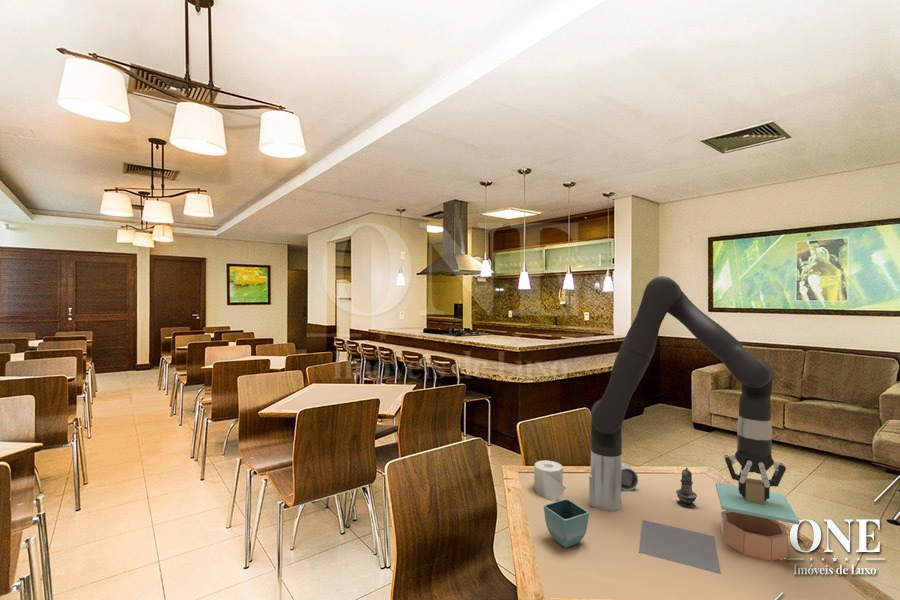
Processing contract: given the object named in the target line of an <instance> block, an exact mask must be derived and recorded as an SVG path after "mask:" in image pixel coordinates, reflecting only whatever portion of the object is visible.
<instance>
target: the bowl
mask: <svg viewBox="0 0 900 600" xmlns="http://www.w3.org/2000/svg"><path fill="white" fill-rule="evenodd" d="M720 534H721V538H722V542H723V543H725V544H726V545H728V546H730V547H731V548H733V549H734V550H736V551H738V552H740V553H741V554H743V555H745V556H750V557H754V558H758V559H762V560H767V561H770V562H772V561H776V560H780V559H784V558H787V557H788V555H789V534H788V531H787V530H786V528H785V525H784V524H783V523H782V522H780V521H777V520H772V519H767V518H762V517H757V516H752V515H747V514H742V513H737V512H732V511H727V510H722V511H720ZM788 558H789V557H788ZM788 558H787V559H788ZM784 560H785V559H784Z"/></svg>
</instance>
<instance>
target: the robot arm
mask: <svg viewBox="0 0 900 600" xmlns="http://www.w3.org/2000/svg"><path fill="white" fill-rule="evenodd" d="M641 298H642V299H641V301H640V304H639V306H638V307H639V308H638V310H637V313H636V315H635V318H634V320H633V321H632V323H631V325H630V327H629V329H628V331H627V332H626V335H625V337H624V339H623V341H622V344H621V345H620V348H619V350H618V352H617V354H616V357H615V359H614V361H613V365H612V369H611V372H610V377H609V380H608V384H607V387H606V389H605V391H604V394H602V397H601V399H599V400H596V402H594V404H593V405H592V407H591V411H590V413H591V415H590V417H591V420H590V421H591V422H590V425H591V426H590V427H591V428H590V473H589V476H588V477H589V478H588V479H589V481H588V483H589V484H588V506H589V507H592V508H596V509H598V510H600V511H604V512H605V511H606V512H617V511H618V510H619V511H620V509H621V508H622V489H621V472H622V463H623V462H622V458H623V457H622V456H623V453H622V452H623V442H622V439H623V437H622V425H623V422H624V419H625V416H626V413H627V410H628V407H629V404H630V401H631V399H632V397H633V394H634V392H635V391H636V389H637V387H638V386H639V384H640V382H641V381H642V379H643V377H644V374H645V372H646V371H647V369H648V367H649V365H650V362H651V360H652V358H653V355H654V352H655V350H656V346H657V341H658V337H659V331H660V329H661V326H662V323H663V321H664V320H665V317H666V315H667V313H668V315H671V316H672V317H674V318H675V319H676V320H678V322H680V323H681V324H682V325H683V326H684V327H685V328H686V329H687V330H688V331H689V332H690V333H691V334H692V335H693V336H694V337H695V338H696V339H697V340H698V341H699V342H700V343H701V344H702V345H703V346H704V348H706V349H707V351H710V353H711V354H712V355H714V356H715V357H716V358H717V359H719V360H720V361H721V362H722V363H723V364H724V366H725V367H726V368H727V369H728V371H729V372H730V373H731V374H732V375H733V376H734V377H735V378H736V379H737V380H738V381H739V382H740V383H741V395H740V397H739V400H738V420H737V430H736V431H737V434H736V435H737V436H736V437H737V438H736V440H737V441H736V443H737V445H736V449H737V450H736V452H735V453H734V454H733V455H728V454H724V455H723V458H724V461H725V463H726V467H727V468H728V471H729V475H730V477H731V480H734V481H737V482H738V486H739V487H738V490H739V493H740V494H741V495H742V497H745V480H746V478H748V475H749V473H756V474H758V475H760V478H761V480H762V482H763V484H764V501H766V499H769V492H770V488H771V487H774V488H775V487H777V488H778V486H779V484H780V482H781V481H782V478H783V476H784V474H785V473H786V469H787V467H786V466H785V464H784V463H783V462H778V461H775V460H774V459H773V456H772V450H773V449H772V447H773V446H772V445H773V444H772V441H773V426H772V421H771V419H772V417H771V416H772V415H771V414H772V406H771V405H772V404H771V403H772V402H771V398H772V397H771V396H772V389H773V381H774V379H773V374H774V373H773V370H772V369H773V368H772V367H771V366H770V364H769V363H768V362H766V361H765V360H762V359H760V358H755V357H754V356H753V355H752V354H751V353H749V352H748V351H747V350H746V348H744V345H743V344H742V343H741V342H740V341H739V340H738V339H737V338H736V337H735V336H733V334H731V333H730V332H729V331H728V330H726V329H725V328H724V327H723V326H721V325H720V324H719V323H717V322H716V321H715V320H714V319H712V318H711V317H710V316H708V315H707V314H706V313H704V312H703V311H702V310H701V309H699V307H697V306H696V305H695V304H694V303H693V302H692V301H691V300H690V299H689V298H688V296H687V295H686V294H685V293H684V292H683V290H682V289H681V286H680V285H679V284H678V283H677V282H676V281H675V280H674V279H672V278H670V277H668V276H657V277H654V278H653V279H650V281H649V282H648V283H647V285H646V286H645V289H644V291H643V294H642V297H641ZM735 460H736V461H737V463H739V465H740V469H739V473H736V472H735V469H734V467H733V465H735ZM772 466H773V470H774V473H773V474H772V476H771V478H770V479H769V478H768V477H769V476H768V473H767V471H768V470H769V469H770V468H771V467H772Z"/></svg>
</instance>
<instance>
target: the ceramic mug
mask: <svg viewBox="0 0 900 600" xmlns="http://www.w3.org/2000/svg"><path fill="white" fill-rule="evenodd" d="M638 483H639V476H638V474H637V473H636V471H635V470H634V469H633V468H632V467H631V466H629V464H627V463H625V462H622V472H621V491H622V490H623V491H626V492H629V491H632V490H634V489H636V487H637V485H638Z"/></svg>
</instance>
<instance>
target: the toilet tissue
mask: <svg viewBox="0 0 900 600" xmlns="http://www.w3.org/2000/svg"><path fill="white" fill-rule="evenodd" d="M533 469H534V471H533V472H534V475H533V478H534V479H533V480H534V481H533V482H534V483H533V484H534V485H533V486H534V487H533V489H534V488H535V489H534V492H535V491H536V492H537V493H536V492H535V493H536V494H538V493H539V494H540V496H541V495H542V496H541V497H543V496H544V497H543V498H545V499H546V498H547V500H548V499H550V500H549V501H552V502H557V501H558V499H559V498H560V496H562V495H563V493H564V491H565V490H566V489H567V487H566V486H565V485H563V483H564V482H563V481H564V480H563V478H564V475H563V473H564V472H563V471H564V470H563V469H564V468H563V465H562V464H561V463H559V462H557V461H552V460H546V459H544V460H537V461H536V462H535V463H534V468H533ZM539 494H538V495H539Z"/></svg>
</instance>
